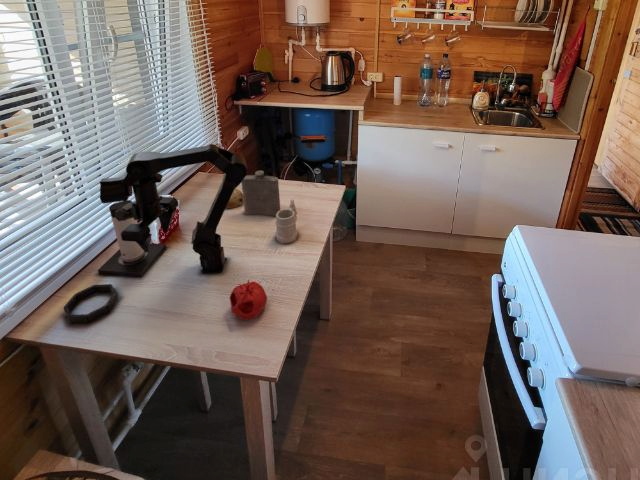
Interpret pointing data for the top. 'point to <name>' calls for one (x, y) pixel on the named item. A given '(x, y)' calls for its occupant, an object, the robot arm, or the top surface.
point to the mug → (286, 224)
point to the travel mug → (127, 248)
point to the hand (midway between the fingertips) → (156, 241)
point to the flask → (261, 194)
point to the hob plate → (132, 263)
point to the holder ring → (95, 314)
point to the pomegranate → (248, 300)
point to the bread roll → (235, 199)
